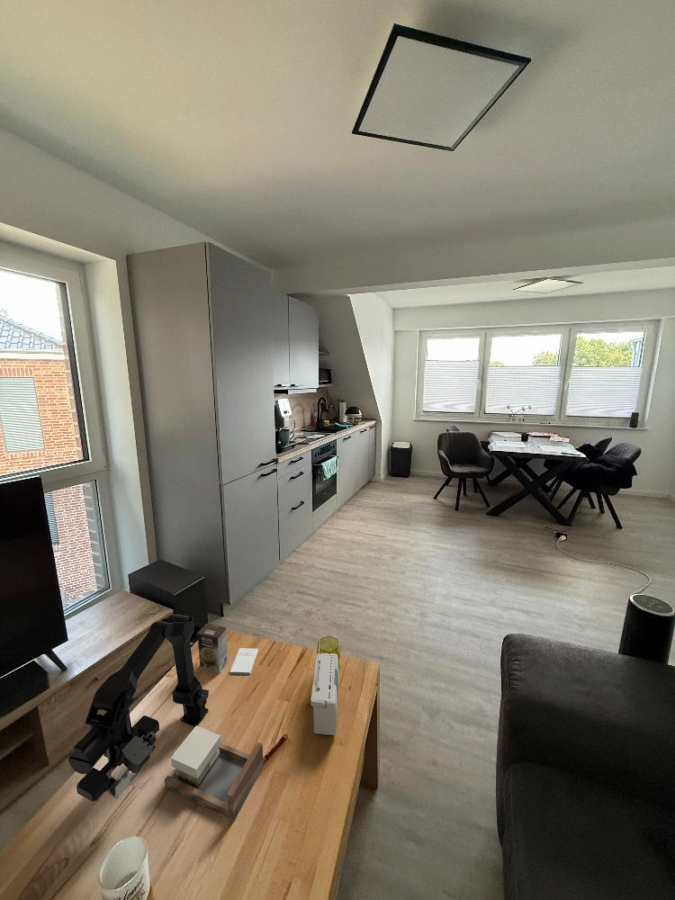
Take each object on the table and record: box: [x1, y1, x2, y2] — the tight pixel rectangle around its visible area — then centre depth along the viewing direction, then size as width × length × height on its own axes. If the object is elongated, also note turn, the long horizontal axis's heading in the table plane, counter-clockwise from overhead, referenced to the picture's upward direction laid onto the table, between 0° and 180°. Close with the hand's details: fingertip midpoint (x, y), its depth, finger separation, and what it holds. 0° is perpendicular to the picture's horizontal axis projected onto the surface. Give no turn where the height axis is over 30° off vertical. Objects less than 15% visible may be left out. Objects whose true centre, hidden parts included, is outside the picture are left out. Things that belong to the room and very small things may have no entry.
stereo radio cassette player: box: [310, 639, 340, 736], centre depth 121 cm, size 21×8×20 cm, turn 178°
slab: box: [170, 725, 222, 779], centre depth 103 cm, size 9×10×3 cm
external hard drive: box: [228, 647, 259, 675], centre depth 143 cm, size 2×8×12 cm
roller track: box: [164, 741, 264, 822], centre depth 101 cm, size 23×14×8 cm, turn 70°
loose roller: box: [111, 765, 143, 800], centre depth 91 cm, size 4×6×4 cm, turn 160°
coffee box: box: [196, 623, 229, 674], centre depth 140 cm, size 9×6×16 cm
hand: (125, 780), depth 91 cm, fingers closed on loose roller, 6 cm apart
